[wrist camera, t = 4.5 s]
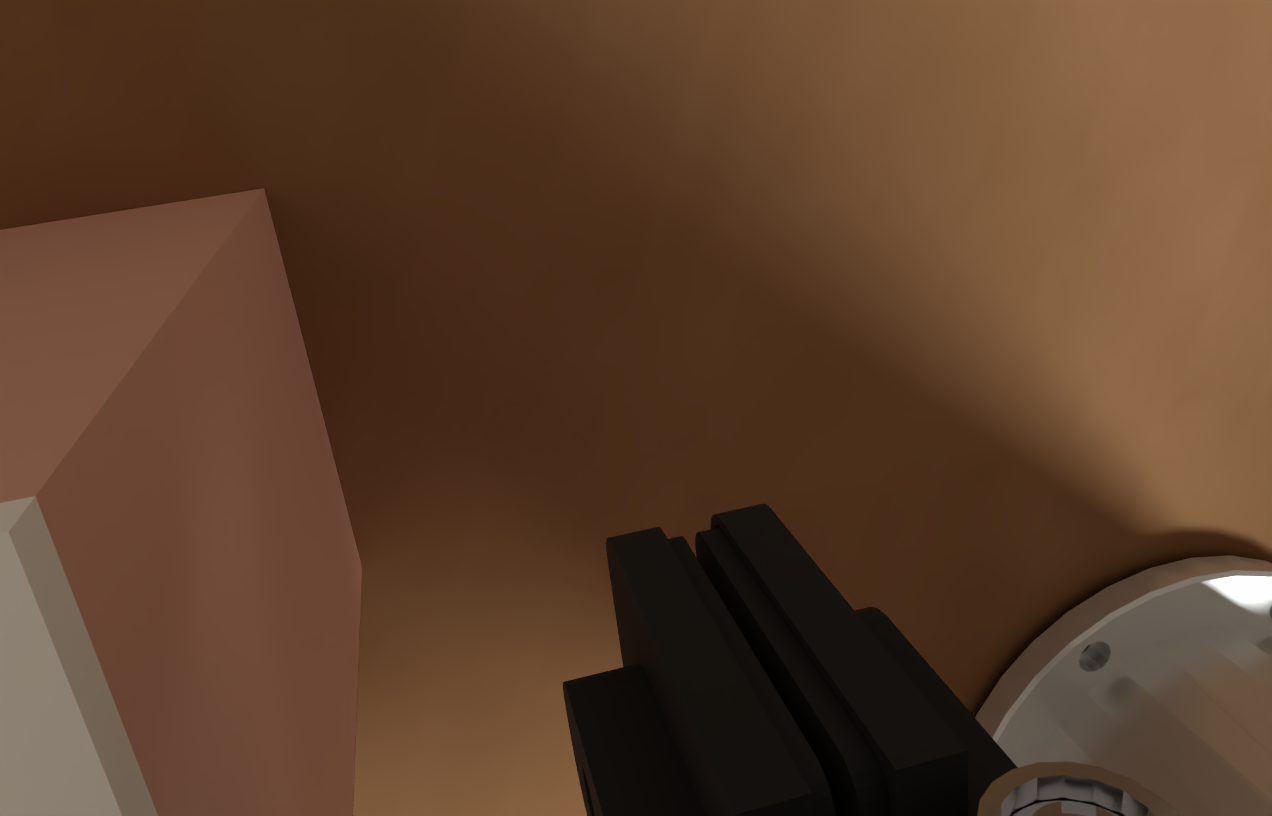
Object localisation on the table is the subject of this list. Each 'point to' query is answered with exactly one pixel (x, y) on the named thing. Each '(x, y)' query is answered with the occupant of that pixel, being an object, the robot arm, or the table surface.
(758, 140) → the table surface
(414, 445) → the table surface
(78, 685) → the pink rectangular block
